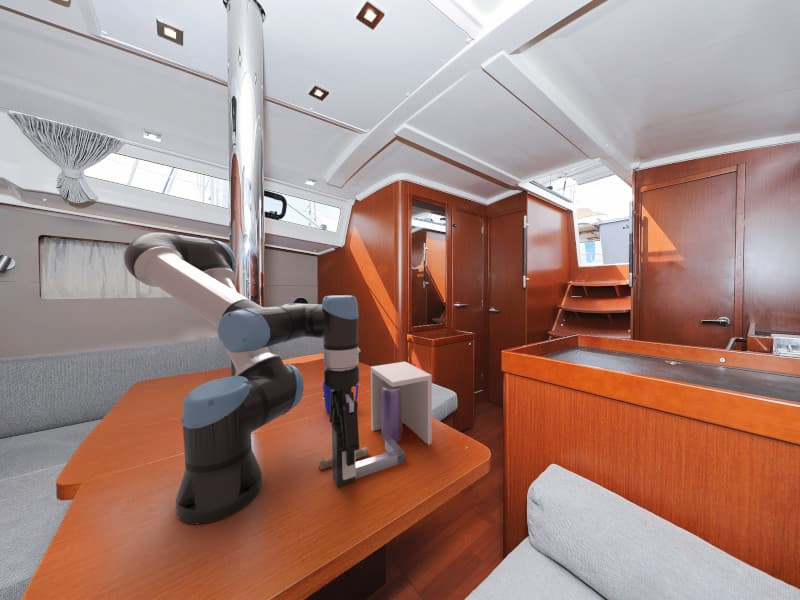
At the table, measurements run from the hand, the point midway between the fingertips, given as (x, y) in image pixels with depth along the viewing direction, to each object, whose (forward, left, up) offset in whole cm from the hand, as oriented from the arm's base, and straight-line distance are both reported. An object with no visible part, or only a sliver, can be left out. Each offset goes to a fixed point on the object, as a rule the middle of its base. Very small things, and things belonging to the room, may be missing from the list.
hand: (343, 465), depth 64 cm
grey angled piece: (+6, +2, -3) cm, 8 cm away
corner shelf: (+19, +10, -3) cm, 22 cm away
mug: (+9, +35, -3) cm, 36 cm away
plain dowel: (+2, +6, -3) cm, 7 cm away
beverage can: (+17, +11, -3) cm, 20 cm away
